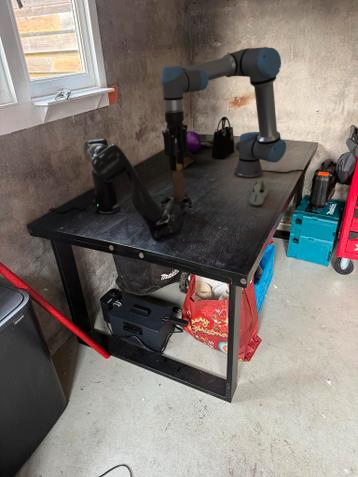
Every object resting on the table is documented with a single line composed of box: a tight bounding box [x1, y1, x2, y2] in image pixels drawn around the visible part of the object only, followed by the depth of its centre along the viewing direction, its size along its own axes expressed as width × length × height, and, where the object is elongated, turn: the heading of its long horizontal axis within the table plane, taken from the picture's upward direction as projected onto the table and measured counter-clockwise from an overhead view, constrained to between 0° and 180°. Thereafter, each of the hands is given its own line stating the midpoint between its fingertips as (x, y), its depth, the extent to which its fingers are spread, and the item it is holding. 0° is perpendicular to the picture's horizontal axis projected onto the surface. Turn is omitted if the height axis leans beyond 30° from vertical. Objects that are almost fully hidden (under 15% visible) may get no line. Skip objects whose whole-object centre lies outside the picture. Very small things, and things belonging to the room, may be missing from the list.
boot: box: [177, 144, 195, 169], centre depth 209 cm, size 9×24×20 cm, turn 168°
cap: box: [176, 163, 183, 171], centre depth 140 cm, size 4×4×2 cm
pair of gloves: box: [199, 134, 214, 149], centre depth 251 cm, size 30×26×5 cm
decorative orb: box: [187, 130, 202, 154], centre depth 230 cm, size 15×15×15 cm
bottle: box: [172, 169, 186, 215], centre depth 145 cm, size 5×5×21 cm
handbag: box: [211, 116, 236, 160], centre depth 219 cm, size 21×9×25 cm, turn 148°
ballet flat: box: [249, 179, 269, 207], centre depth 158 cm, size 8×24×8 cm, turn 163°
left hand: (179, 195), depth 150 cm, fingers closed on bottle, 4 cm apart
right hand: (177, 168), depth 140 cm, fingers closed on cap, 4 cm apart
